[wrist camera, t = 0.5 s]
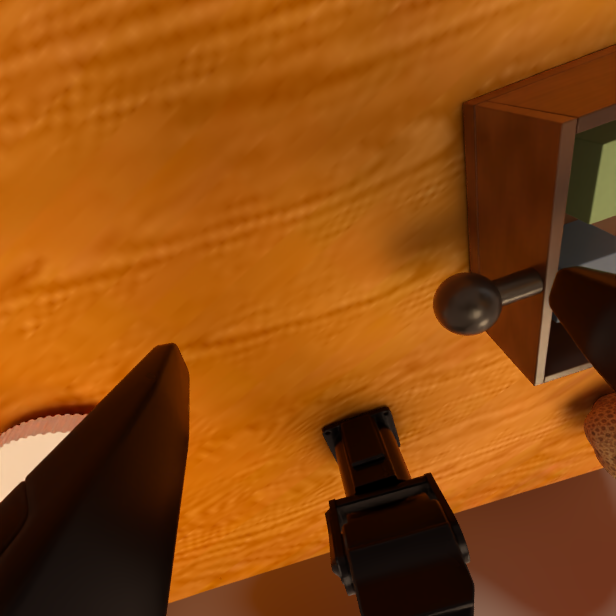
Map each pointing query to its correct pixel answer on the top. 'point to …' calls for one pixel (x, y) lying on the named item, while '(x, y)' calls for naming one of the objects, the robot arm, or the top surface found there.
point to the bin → (525, 211)
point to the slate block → (587, 248)
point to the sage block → (593, 175)
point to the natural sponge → (603, 431)
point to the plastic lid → (30, 446)
